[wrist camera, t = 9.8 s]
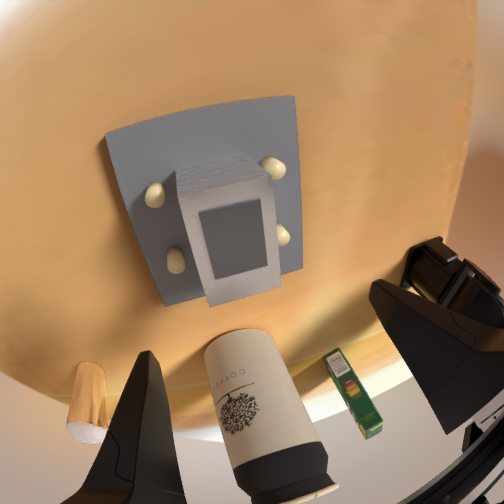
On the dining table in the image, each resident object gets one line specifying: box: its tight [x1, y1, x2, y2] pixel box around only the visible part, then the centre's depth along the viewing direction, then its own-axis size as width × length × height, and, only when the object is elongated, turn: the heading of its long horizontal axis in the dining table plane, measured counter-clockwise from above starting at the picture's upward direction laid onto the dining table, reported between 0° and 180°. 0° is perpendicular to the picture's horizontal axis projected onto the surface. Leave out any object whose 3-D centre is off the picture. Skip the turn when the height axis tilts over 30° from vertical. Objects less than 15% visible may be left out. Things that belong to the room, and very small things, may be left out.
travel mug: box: [204, 329, 339, 504], centre depth 21 cm, size 8×8×18 cm
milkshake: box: [66, 362, 109, 444], centre depth 20 cm, size 5×5×10 cm
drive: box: [175, 154, 281, 307], centre depth 16 cm, size 7×4×5 cm, turn 8°
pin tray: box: [105, 96, 303, 306], centre depth 18 cm, size 14×12×2 cm
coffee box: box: [324, 348, 383, 439], centre depth 32 cm, size 8×3×13 cm, turn 23°
